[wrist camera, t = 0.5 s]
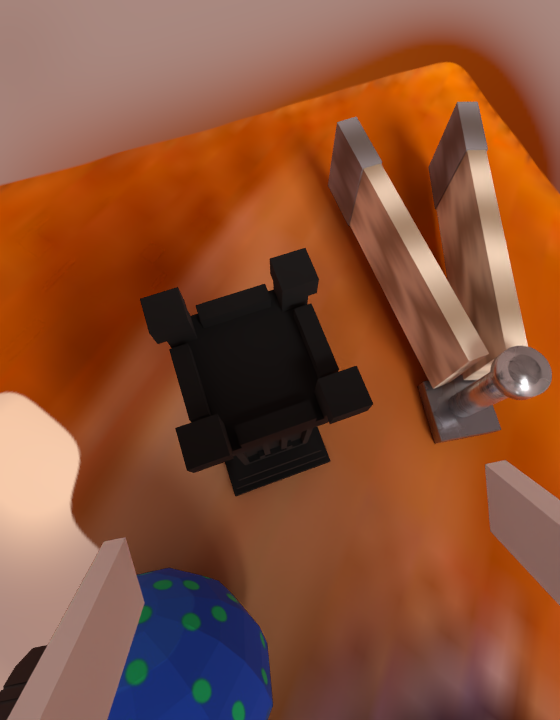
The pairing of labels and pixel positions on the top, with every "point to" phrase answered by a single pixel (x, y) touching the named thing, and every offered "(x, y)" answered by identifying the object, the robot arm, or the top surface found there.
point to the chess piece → (256, 376)
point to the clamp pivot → (484, 394)
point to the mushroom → (193, 655)
